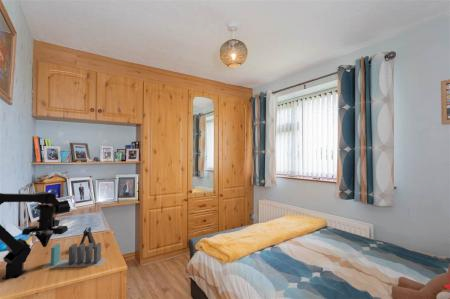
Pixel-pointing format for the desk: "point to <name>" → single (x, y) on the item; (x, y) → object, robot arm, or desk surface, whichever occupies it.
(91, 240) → the phone stand
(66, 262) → the mat
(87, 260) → the domino
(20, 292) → the desk surface
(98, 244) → the domino
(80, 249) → the domino
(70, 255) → the domino
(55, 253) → the domino
